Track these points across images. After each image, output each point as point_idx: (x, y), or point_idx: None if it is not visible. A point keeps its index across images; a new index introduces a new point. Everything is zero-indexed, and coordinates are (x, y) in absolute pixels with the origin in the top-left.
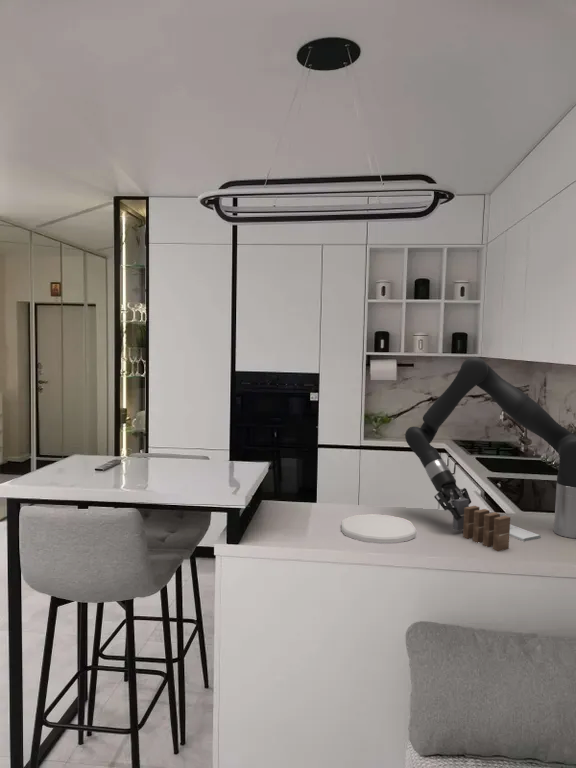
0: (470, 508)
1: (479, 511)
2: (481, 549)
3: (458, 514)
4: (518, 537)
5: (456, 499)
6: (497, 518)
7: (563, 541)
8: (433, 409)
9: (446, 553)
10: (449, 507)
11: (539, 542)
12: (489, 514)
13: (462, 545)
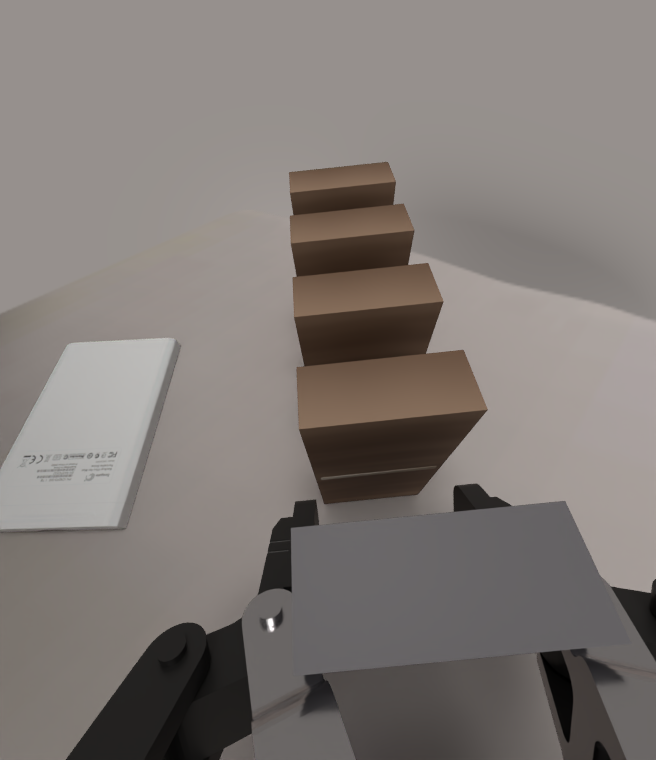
0: (429, 364)
1: (401, 280)
2: None
3: (493, 501)
4: (169, 362)
5: (552, 650)
6: (382, 174)
7: (54, 302)
8: None
9: (625, 350)
10: (652, 598)
11: (138, 320)
12: (374, 223)
13: (493, 397)
